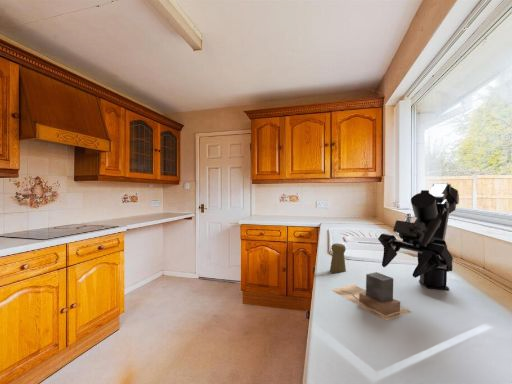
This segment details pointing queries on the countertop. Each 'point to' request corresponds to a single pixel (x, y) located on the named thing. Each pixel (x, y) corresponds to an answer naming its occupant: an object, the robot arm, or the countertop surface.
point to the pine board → (353, 295)
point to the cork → (338, 259)
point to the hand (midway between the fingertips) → (397, 271)
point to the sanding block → (379, 295)
